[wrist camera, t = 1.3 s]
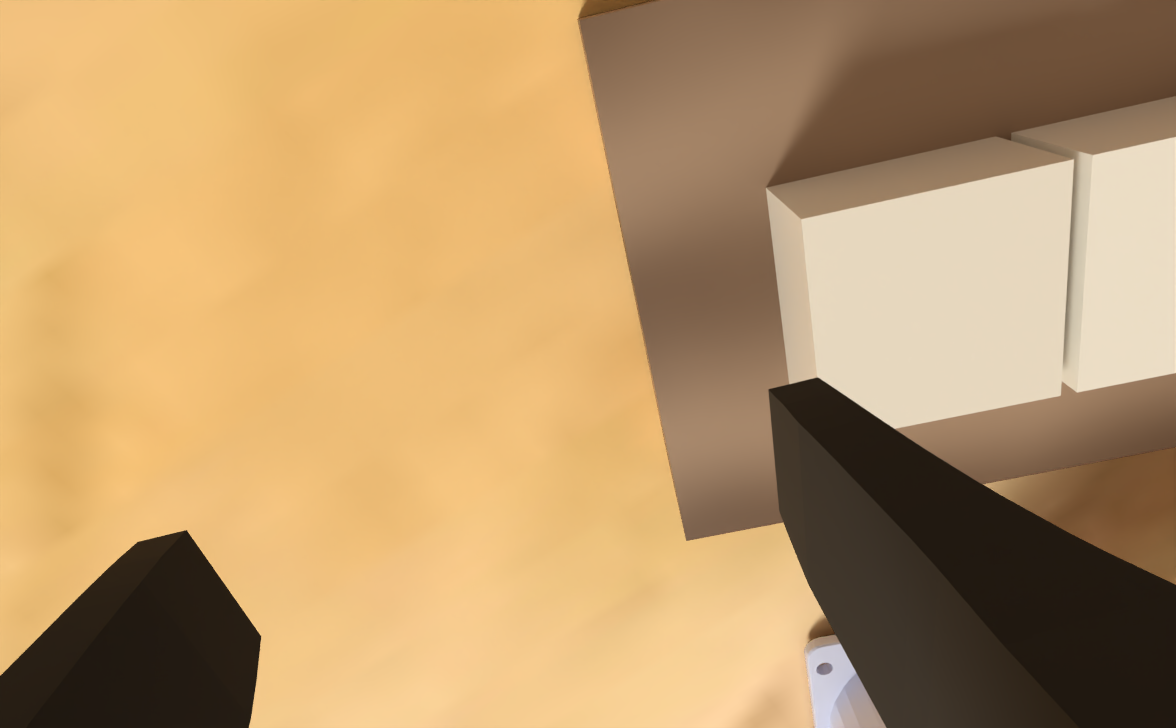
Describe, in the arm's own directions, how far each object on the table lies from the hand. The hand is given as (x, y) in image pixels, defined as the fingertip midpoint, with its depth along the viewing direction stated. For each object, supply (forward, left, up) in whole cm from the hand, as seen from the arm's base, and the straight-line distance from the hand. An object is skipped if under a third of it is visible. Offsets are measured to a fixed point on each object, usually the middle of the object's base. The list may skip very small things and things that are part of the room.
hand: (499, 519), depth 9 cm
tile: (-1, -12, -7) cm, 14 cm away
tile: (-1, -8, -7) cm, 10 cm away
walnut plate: (-1, -9, -10) cm, 14 cm away
